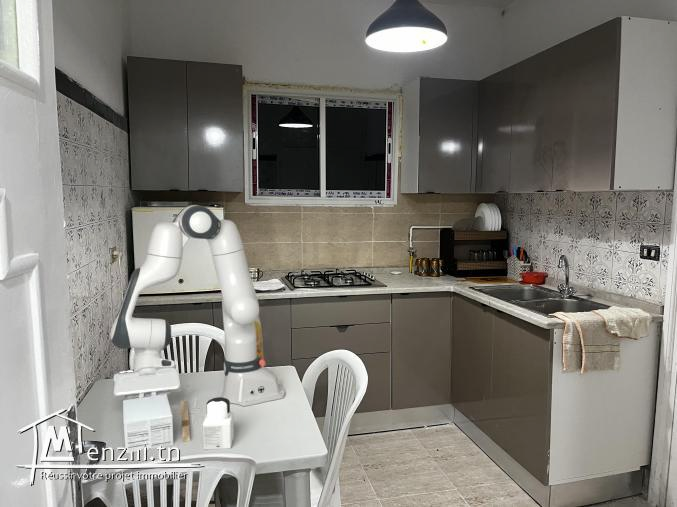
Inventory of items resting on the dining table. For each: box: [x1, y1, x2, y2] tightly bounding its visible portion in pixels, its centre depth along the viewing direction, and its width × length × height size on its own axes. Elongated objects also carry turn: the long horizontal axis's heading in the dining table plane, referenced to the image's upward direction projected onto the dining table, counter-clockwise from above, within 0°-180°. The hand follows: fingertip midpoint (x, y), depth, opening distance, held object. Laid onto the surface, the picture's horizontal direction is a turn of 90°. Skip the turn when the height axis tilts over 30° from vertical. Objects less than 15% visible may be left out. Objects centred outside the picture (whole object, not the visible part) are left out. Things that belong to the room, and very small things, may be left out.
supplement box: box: [122, 394, 174, 454], centre depth 149 cm, size 17×13×9 cm
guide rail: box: [180, 400, 191, 443], centre depth 159 cm, size 2×26×2 cm, turn 18°
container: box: [202, 396, 235, 450], centre depth 145 cm, size 8×8×13 cm
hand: (147, 408), depth 158 cm, fingers closed
